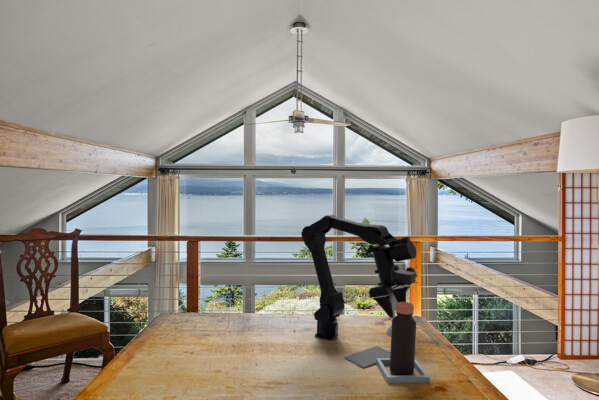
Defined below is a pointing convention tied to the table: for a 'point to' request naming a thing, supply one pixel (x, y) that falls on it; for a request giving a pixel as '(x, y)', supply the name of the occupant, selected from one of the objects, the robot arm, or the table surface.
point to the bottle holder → (402, 378)
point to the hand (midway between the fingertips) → (398, 313)
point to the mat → (368, 356)
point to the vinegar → (403, 340)
